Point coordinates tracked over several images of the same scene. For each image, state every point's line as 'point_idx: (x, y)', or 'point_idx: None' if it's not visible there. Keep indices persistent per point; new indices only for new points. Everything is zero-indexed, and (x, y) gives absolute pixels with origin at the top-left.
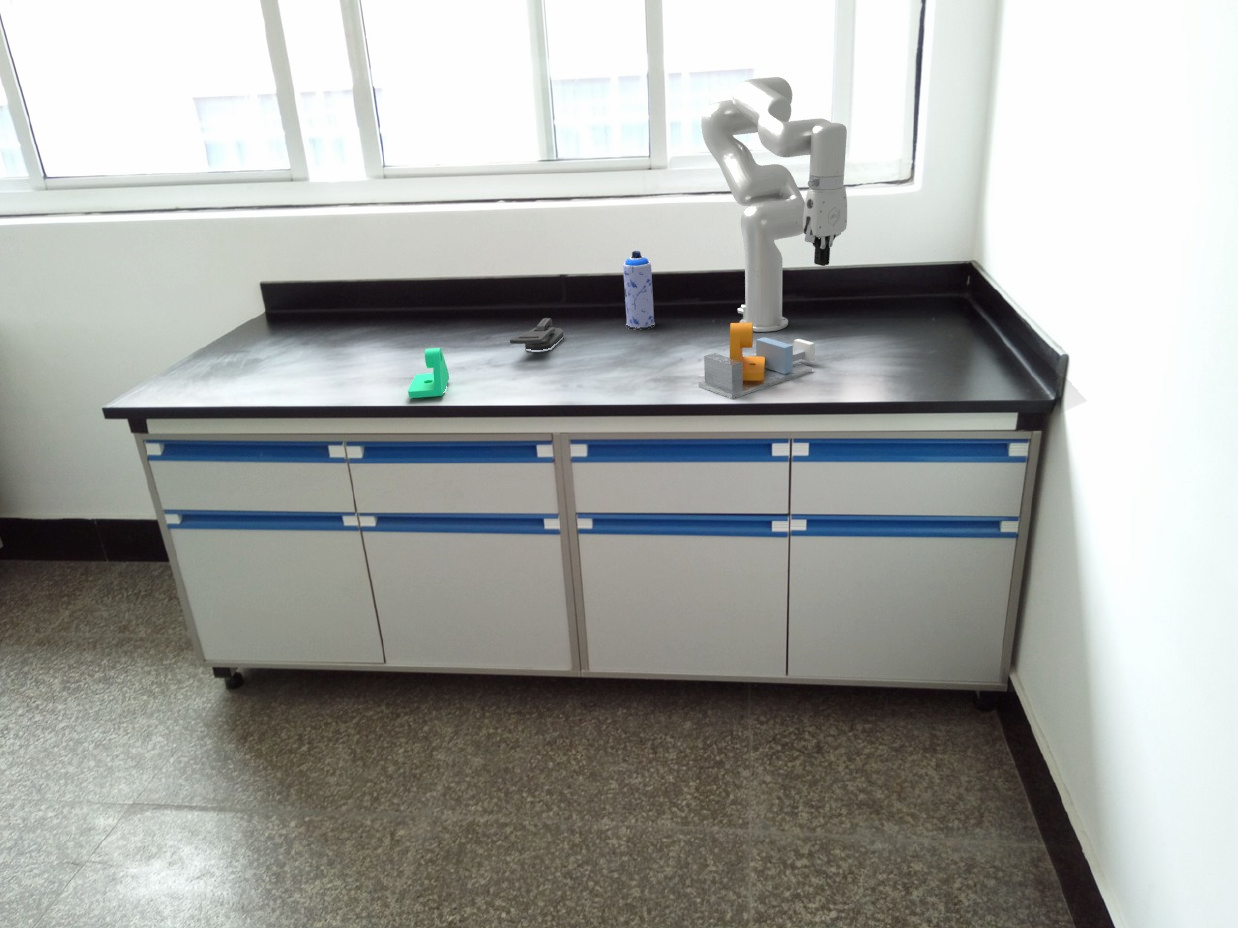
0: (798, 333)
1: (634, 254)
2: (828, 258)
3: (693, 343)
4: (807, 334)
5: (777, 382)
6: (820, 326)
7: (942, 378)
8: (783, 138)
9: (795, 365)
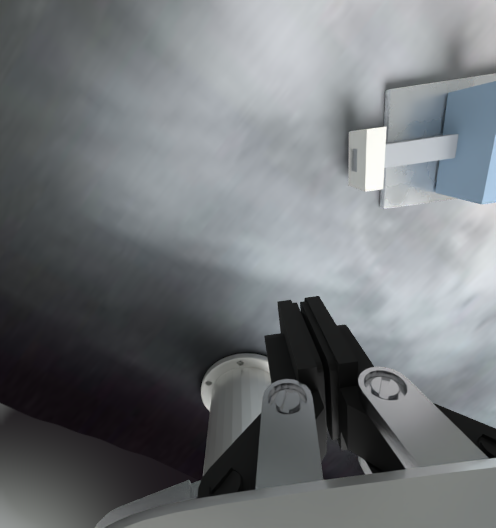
0: (224, 321)
1: None
2: (293, 318)
3: None
4: (214, 306)
5: None
6: (161, 330)
7: None
8: None
9: (403, 131)
